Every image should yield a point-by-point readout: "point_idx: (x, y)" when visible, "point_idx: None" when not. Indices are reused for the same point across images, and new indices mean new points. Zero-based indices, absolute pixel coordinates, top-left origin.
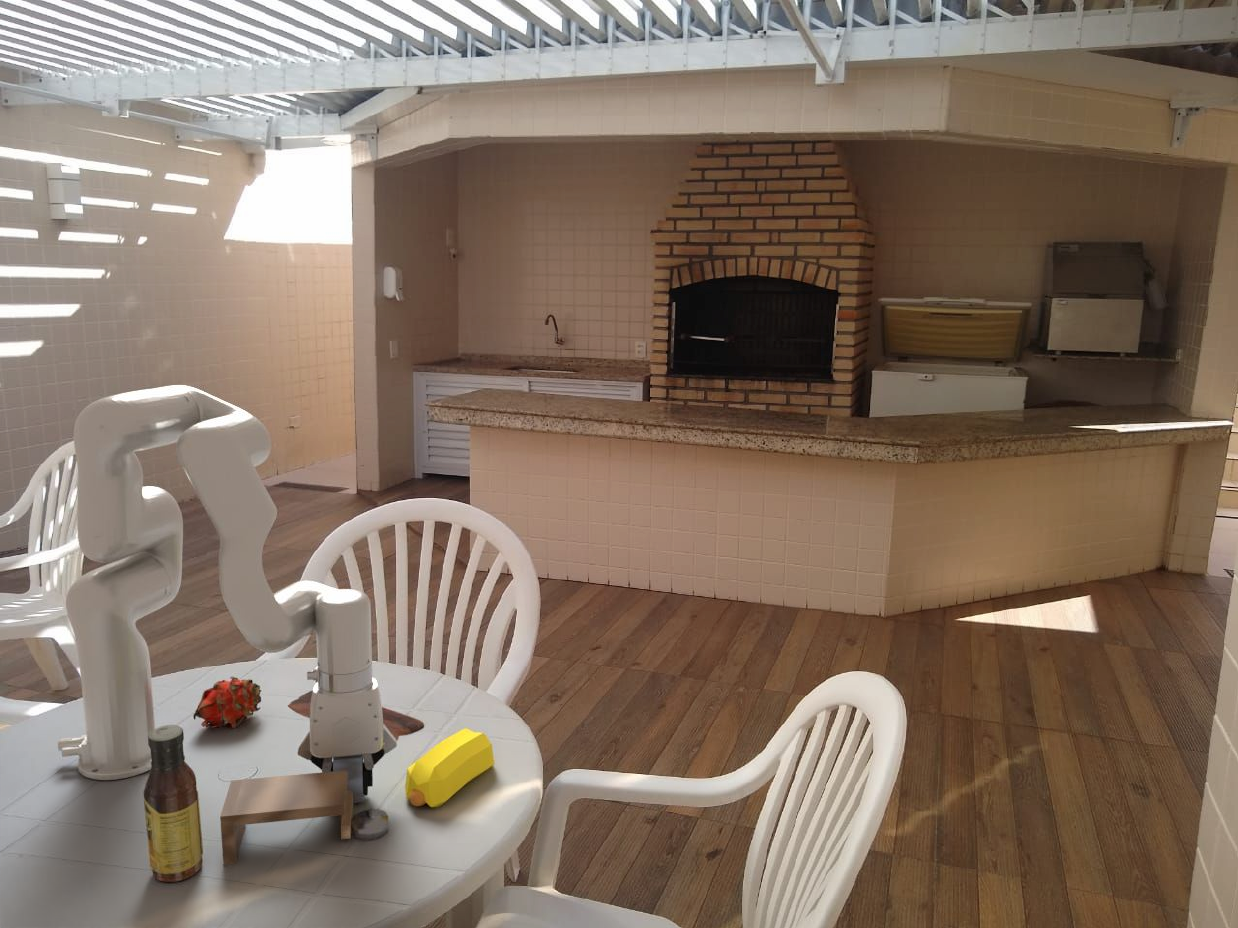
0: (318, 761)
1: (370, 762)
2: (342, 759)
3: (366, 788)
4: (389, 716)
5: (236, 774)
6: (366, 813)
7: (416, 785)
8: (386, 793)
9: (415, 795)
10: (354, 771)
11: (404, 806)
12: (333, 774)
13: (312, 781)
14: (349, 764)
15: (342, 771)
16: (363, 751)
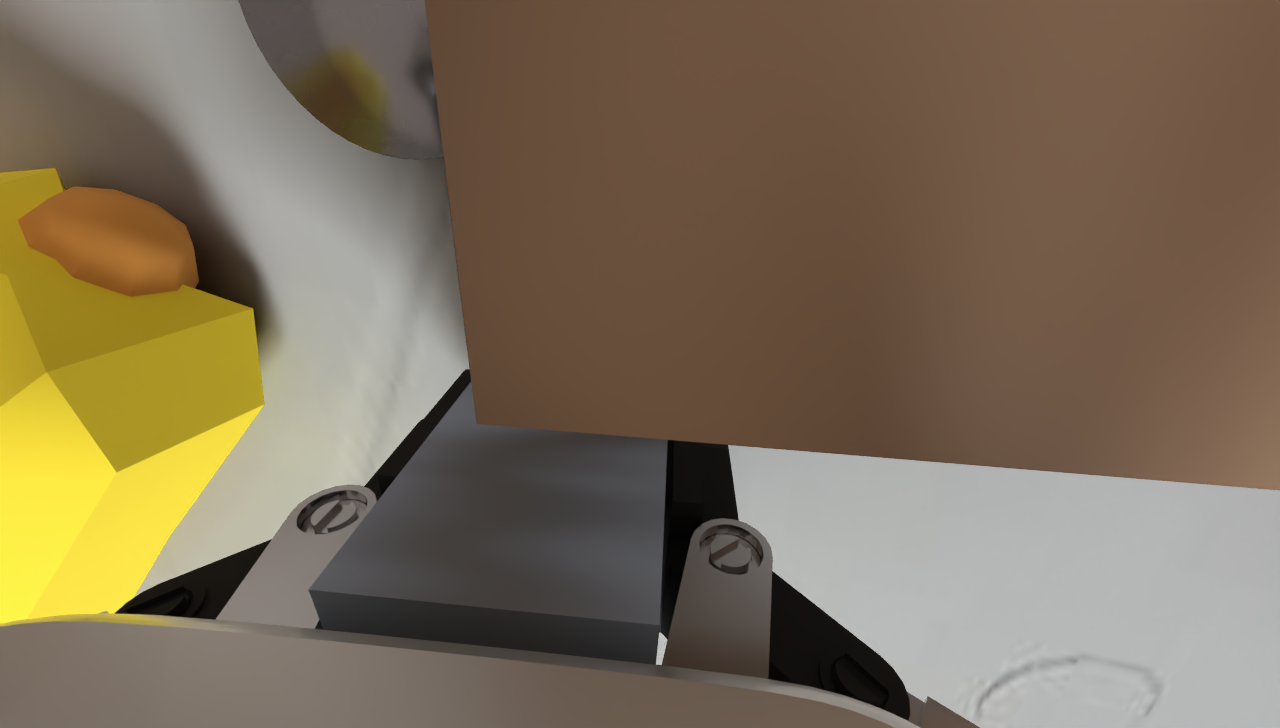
0: (814, 653)
1: (296, 538)
2: (541, 611)
3: (455, 390)
4: None
5: (1077, 695)
6: (427, 100)
7: (30, 281)
8: (404, 410)
9: (78, 219)
10: (470, 478)
11: (272, 262)
12: (659, 361)
13: (1009, 234)
14: (486, 542)
15: (539, 408)
16: (133, 663)
